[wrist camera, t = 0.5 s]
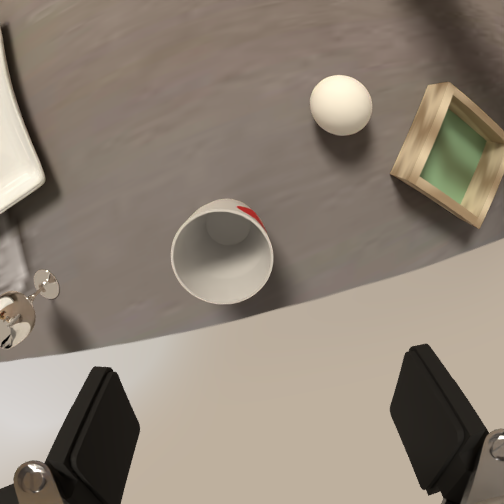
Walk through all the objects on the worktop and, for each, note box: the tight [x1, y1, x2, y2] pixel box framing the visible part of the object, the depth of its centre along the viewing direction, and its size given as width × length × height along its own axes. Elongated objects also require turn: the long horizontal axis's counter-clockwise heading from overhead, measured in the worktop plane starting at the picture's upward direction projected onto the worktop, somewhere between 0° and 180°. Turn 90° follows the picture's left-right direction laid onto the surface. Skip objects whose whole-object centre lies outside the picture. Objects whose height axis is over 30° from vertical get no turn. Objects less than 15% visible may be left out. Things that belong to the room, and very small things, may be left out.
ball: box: [310, 75, 372, 136], centre depth 28 cm, size 6×6×6 cm
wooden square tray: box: [390, 82, 504, 229], centre depth 30 cm, size 12×12×4 cm
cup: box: [171, 199, 273, 304], centre depth 30 cm, size 8×8×10 cm
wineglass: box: [0, 269, 59, 349], centre depth 32 cm, size 6×6×12 cm
